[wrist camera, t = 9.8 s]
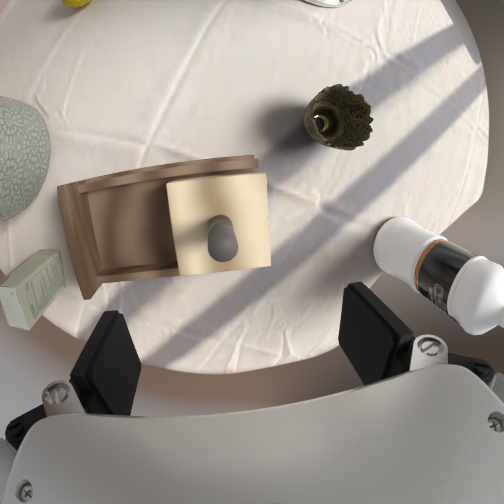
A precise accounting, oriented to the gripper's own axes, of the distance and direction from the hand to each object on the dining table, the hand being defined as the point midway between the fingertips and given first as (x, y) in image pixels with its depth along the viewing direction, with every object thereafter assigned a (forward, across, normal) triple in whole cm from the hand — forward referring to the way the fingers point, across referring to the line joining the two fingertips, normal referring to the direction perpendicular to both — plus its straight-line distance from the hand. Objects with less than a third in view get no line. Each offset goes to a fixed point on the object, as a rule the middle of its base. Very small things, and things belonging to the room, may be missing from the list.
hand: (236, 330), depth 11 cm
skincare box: (+26, +27, +6) cm, 38 cm away
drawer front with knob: (+24, 0, 0) cm, 24 cm away
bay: (+26, +7, 0) cm, 26 cm away
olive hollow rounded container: (+26, -14, -10) cm, 31 cm away
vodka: (+26, -27, +8) cm, 38 cm away
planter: (+26, +29, -12) cm, 41 cm away
